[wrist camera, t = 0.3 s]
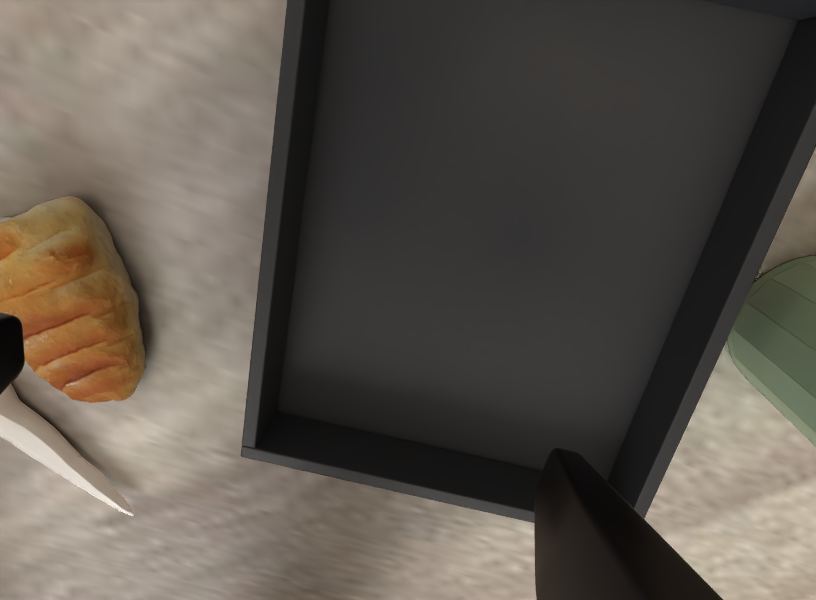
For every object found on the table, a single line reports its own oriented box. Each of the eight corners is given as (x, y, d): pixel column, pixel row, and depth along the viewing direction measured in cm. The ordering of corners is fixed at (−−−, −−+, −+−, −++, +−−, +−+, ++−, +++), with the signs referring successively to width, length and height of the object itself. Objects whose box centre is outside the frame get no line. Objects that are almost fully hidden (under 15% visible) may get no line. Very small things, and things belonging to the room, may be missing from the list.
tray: (610, 489, 26) (632, 545, 23) (267, 412, 26) (240, 456, 23) (814, 7, 18) (890, -13, 15) (328, -94, 19) (300, -136, 15)
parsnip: (-106, 329, 27) (-145, 345, 25) (-82, 296, 26) (-121, 310, 24) (129, 516, 30) (108, 542, 28) (157, 491, 29) (137, 516, 27)
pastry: (193, 365, 26) (149, 409, 22) (81, 402, 27) (23, 448, 24) (89, 180, 23) (20, 195, 19) (-30, 231, 24) (-114, 254, 21)
